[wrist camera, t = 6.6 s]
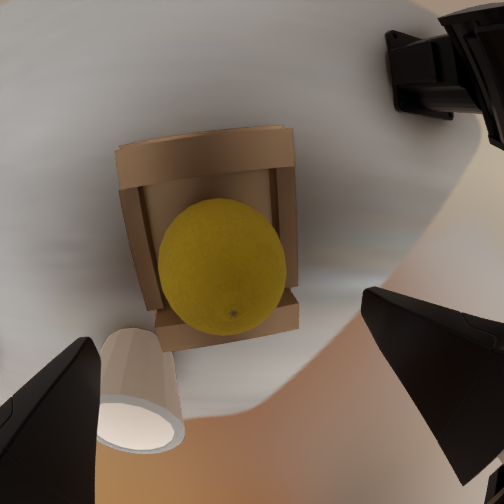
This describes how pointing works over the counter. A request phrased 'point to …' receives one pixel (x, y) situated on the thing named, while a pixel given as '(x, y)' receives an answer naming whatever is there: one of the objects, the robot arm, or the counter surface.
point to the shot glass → (138, 394)
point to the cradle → (204, 188)
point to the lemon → (222, 267)
